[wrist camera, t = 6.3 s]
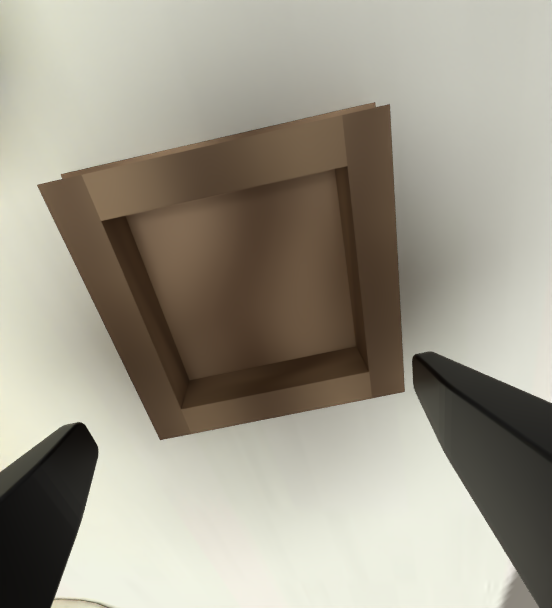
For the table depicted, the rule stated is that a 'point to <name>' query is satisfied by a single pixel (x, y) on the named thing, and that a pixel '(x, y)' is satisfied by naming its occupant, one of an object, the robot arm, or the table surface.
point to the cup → (74, 604)
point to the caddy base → (246, 269)
